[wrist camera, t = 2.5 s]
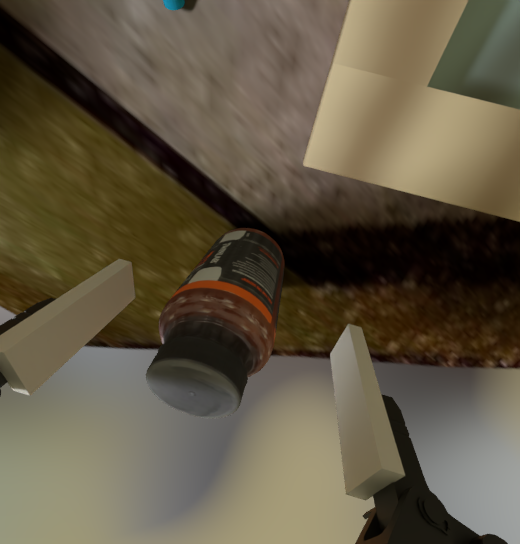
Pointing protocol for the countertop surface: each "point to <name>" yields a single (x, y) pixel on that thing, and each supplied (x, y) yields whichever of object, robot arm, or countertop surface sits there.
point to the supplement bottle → (219, 326)
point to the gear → (174, 4)
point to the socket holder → (426, 101)
